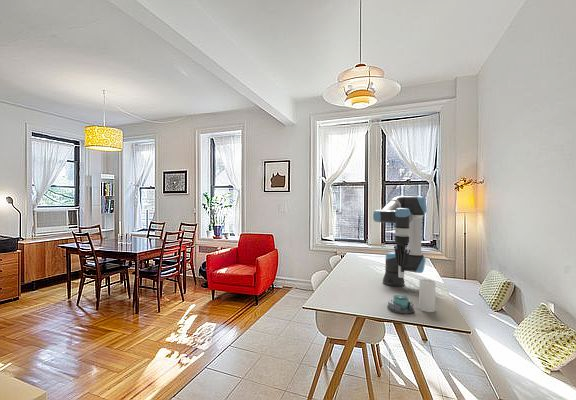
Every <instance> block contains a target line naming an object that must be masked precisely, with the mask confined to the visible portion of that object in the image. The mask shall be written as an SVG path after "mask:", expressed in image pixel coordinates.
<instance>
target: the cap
mask: <svg viewBox="0 0 576 400" xmlns="http://www.w3.org/2000/svg"><path fill="white" fill-rule="evenodd" d="M408 300H409V298H408V297H407V296H406V295H404V294H395V295H393V298H392V303H394V304H397V305H401V310H408Z"/></svg>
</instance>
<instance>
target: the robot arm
mask: <svg viewBox="0 0 576 400" xmlns="http://www.w3.org/2000/svg"><path fill="white" fill-rule="evenodd" d="M427 211H428V210H427V201H426V198H425V196H423V195H422V196H421V195H398V196H395V197H393V198H391V199H389V200H388V201H387V203H386V205H384V207H382V208H381V209H375V210H374V211H373V214H372V215H373V217H372V219H373V221H374V222H376V223H387V224H395V226H394V227H395V228H394V242H395V245H394V246H393V249H394V251H390V252H389V251H388V252H386V254H385V272H384V275H383V278H382V284H384V285H386V286H389V287H396V288H397V287H404V286H405V279H404V278H405V272H410V273H416V274H421V273H423V272H424V270H425V265H426V261H427V260H426V259H427V257H426V256H424V253H423V252H422V232H423V231H422V226H423V225H422V224H423V222H422V220H423V218H424V216H425V213H426V214H427Z"/></svg>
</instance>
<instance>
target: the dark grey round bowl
mask: <svg viewBox="0 0 576 400" xmlns="http://www.w3.org/2000/svg"><path fill="white" fill-rule="evenodd" d="M414 305H415V303H414V302H413V301H411V300H409V299H408V310H401V305H397V304H394V303H393V298H389V299H388V300H387V309H388V310H389V311H390V312H393V313H395V314H399V315H411V314H414V312H415V308H414V307H415V306H414Z"/></svg>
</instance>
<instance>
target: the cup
mask: <svg viewBox="0 0 576 400" xmlns="http://www.w3.org/2000/svg"><path fill="white" fill-rule="evenodd" d="M418 281H419V283H418V284H419V287H418V289H419V291H418V309H419V310H421V311H422V312H426V313H434V312H436V286H437V285H436V283H437V282H436V281H434V280H432V279H426V278H420V279H419V280H418Z"/></svg>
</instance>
